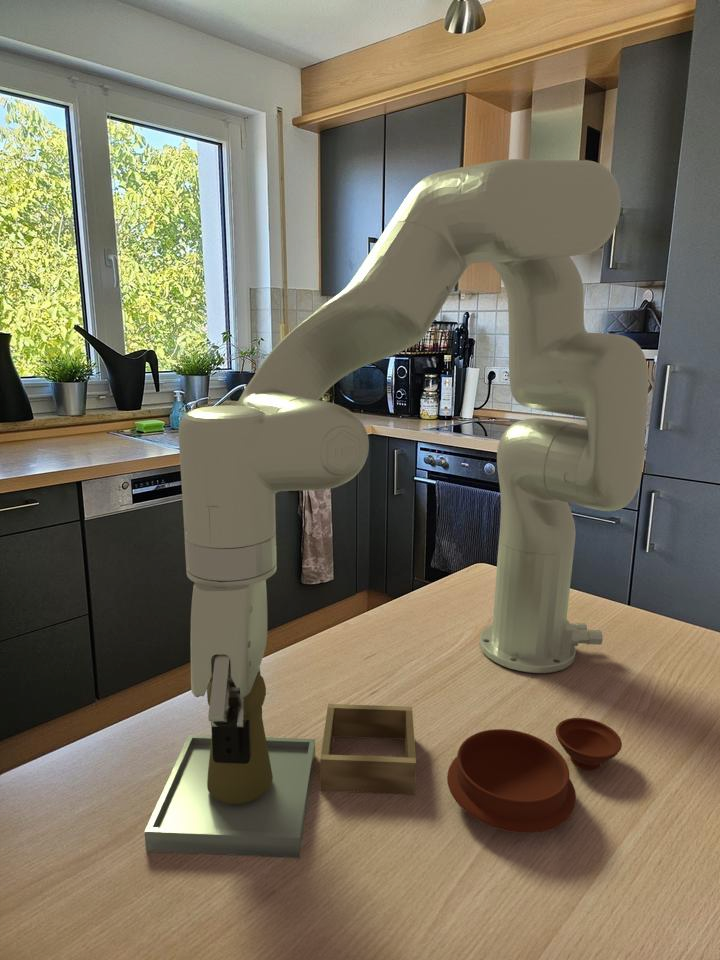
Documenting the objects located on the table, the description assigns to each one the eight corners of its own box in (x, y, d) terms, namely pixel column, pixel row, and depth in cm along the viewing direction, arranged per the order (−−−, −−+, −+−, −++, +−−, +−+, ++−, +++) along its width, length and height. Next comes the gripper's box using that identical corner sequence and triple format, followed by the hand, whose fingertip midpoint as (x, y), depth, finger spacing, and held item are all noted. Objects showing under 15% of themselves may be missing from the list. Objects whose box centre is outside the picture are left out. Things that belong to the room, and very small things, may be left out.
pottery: (421, 788, 64) (423, 748, 63) (561, 722, 74) (565, 688, 73) (509, 873, 54) (513, 828, 53) (655, 784, 65) (661, 745, 64)
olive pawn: (259, 808, 58) (256, 697, 55) (195, 798, 59) (189, 689, 56) (281, 763, 64) (279, 661, 61) (222, 754, 65) (217, 653, 62)
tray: (315, 756, 68) (315, 739, 67) (299, 857, 55) (299, 838, 55) (189, 751, 68) (188, 734, 68) (146, 851, 56) (144, 831, 55)
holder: (410, 735, 71) (412, 706, 71) (414, 794, 63) (416, 762, 62) (327, 732, 72) (328, 703, 71) (320, 790, 63) (320, 759, 62)
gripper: (212, 521, 64) (220, 687, 69) (153, 595, 48) (169, 807, 52) (289, 522, 64) (292, 689, 68) (257, 598, 47) (263, 811, 52)
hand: (238, 738), depth 60 cm, fingers closed on olive pawn, 4 cm apart
